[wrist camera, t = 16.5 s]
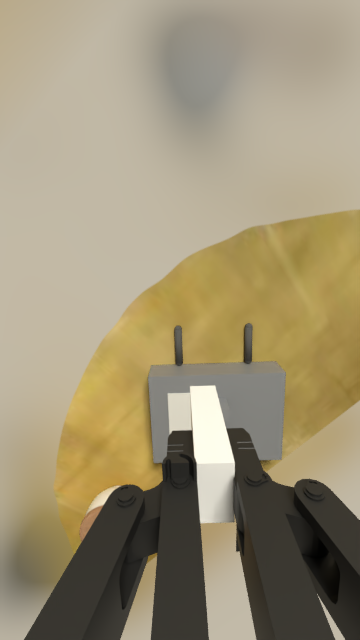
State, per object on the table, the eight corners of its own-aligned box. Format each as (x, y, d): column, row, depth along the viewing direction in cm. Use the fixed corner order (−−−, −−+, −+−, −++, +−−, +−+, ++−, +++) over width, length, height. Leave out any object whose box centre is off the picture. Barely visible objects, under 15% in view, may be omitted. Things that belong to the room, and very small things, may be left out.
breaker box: (275, 361, 51) (294, 382, 43) (272, 441, 55) (288, 474, 46) (151, 365, 51) (145, 386, 43) (156, 444, 55) (151, 478, 47)
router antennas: (251, 322, 49) (253, 324, 48) (250, 362, 51) (252, 364, 50) (174, 325, 50) (174, 326, 48) (176, 364, 51) (175, 367, 50)
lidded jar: (156, 505, 58) (152, 552, 49) (112, 528, 59) (100, 578, 50) (126, 466, 56) (116, 508, 47) (81, 490, 57) (62, 535, 48)
